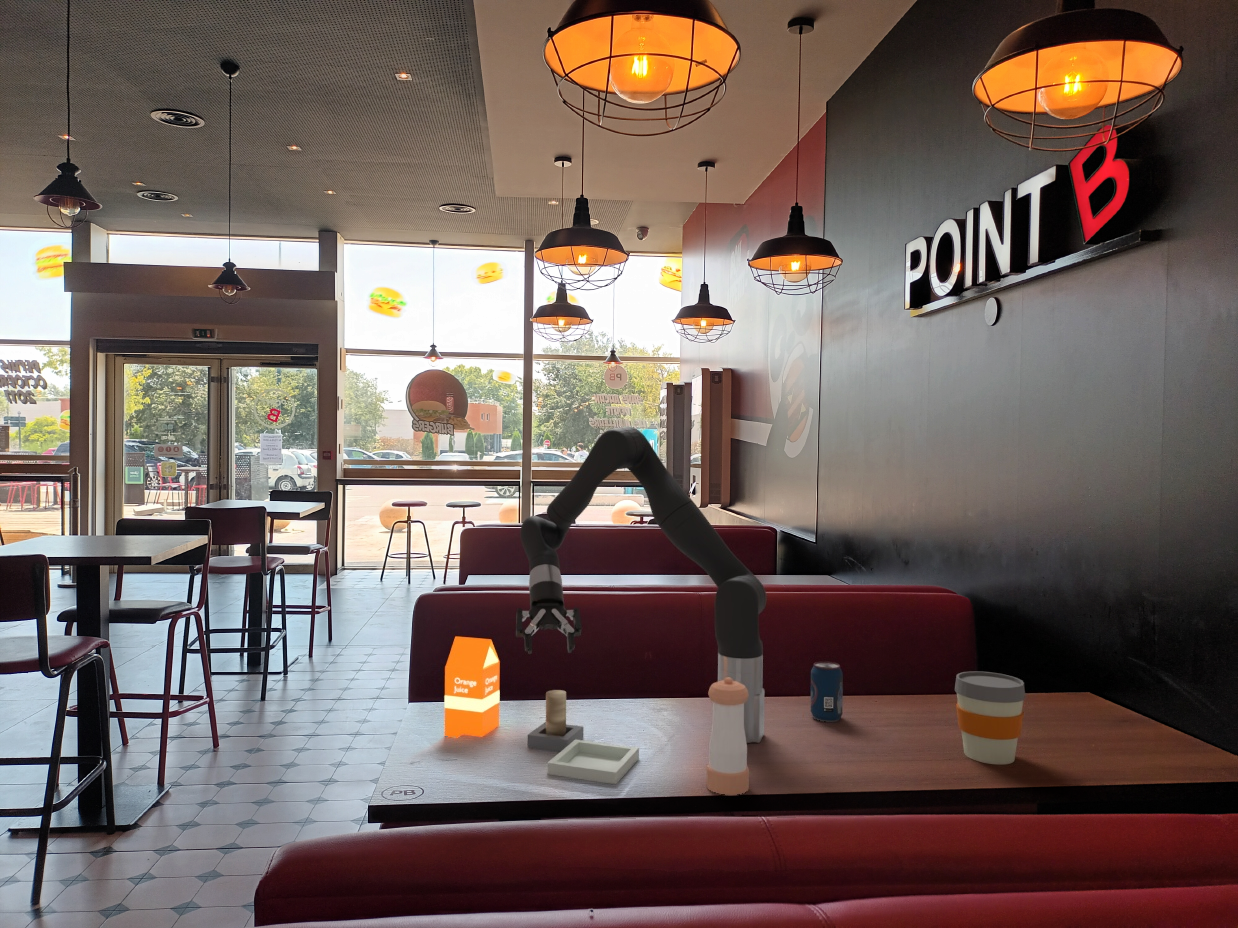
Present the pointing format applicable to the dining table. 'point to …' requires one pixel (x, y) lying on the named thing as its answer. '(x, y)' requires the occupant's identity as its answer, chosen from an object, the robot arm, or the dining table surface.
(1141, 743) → the dining table surface
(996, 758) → the reusable coffee cup
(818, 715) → the soda can
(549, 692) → the dowel
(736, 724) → the pepper shaker
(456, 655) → the orange juice
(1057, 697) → the dining table surface
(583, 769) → the tray
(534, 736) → the grey square socket
